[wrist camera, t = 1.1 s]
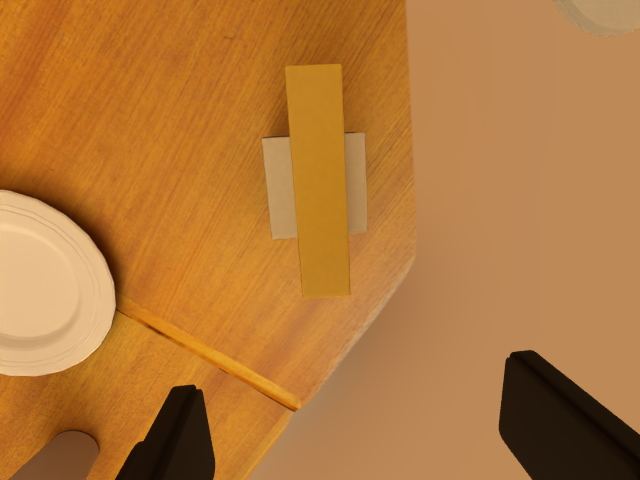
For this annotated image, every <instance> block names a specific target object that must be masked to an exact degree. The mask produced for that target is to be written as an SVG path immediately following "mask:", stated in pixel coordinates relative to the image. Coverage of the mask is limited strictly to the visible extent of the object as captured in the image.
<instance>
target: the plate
mask: <svg viewBox="0 0 640 480" xmlns="http://www.w3.org/2000/svg"><path fill="white" fill-rule="evenodd" d="M115 310H116V293H115V282H114V279H113V276H112V274H111V271H110V268H109V266H108V263H107V260H106V258H105V256H104V255H103V254H102V252H101V251H100V249H99V248H98V246H97V245H96V244H95V242H94V241H93V239H92V238H91V237H90V235H89V234H88V233H87V232H85V231H84V230H83V229H82V228H81V227H80V226H79V225H78V224H77V223H75V222H74V221H73V220H72V219H71V218H70V217H69V216H68V215H66V214H64V213H63V212H61V211H59V210H57V209H55V208H54V207H52V206H50V205H48V204H47V203H45V202H43V201H41V200H39V199H36V198H33V197H30V196H26V195H23V194H20V193H17V192H13V191H10V190H0V373H1V374H5V375H10V376H40V375H45V374H50V373H55V372H60V371H63V370H65V369H67V368H69V367H71V366H73V365H76V364H78V363H80V362H82V361H83V360H84V359H86V358H87V357H88V356H89V355H90V354H91V353H92V352H94V351H95V350H96V349H97V348H98V347H99V346H100V345H101V343H102V342H103V340H104V338H105V337H106V335H107V333H108V332H109V330H110V329H111V327H112V323H113V318H114V314H115Z"/></svg>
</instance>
